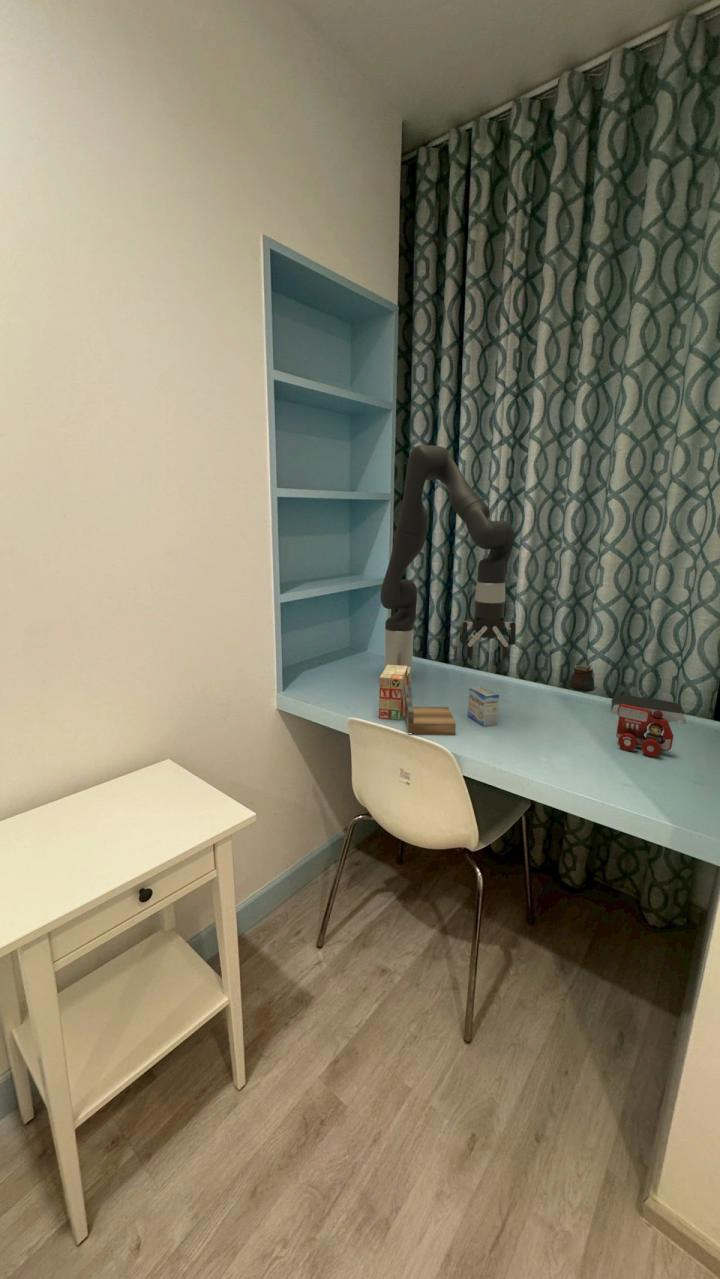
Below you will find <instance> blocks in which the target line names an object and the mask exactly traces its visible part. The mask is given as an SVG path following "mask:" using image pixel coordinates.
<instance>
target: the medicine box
mask: <svg viewBox="0 0 720 1279" xmlns="http://www.w3.org/2000/svg"><path fill="white" fill-rule="evenodd" d="M499 701H500V694H498V693H496V692H494V691H493V690H490V689H487V688H486V687H484V686H482V685H481V686H472V687H469V689H468V701H467V703H468V704H467V712H466V714H467V717H468V718H469V719H471V720H473V721H474V722H476V723H477V724H479V725H481V726H482V727H489V726H495V725H497V724H498V718H499V716H498V713H499V703H500V702H499Z"/></svg>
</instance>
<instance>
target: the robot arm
mask: <svg viewBox="0 0 720 1279" xmlns="http://www.w3.org/2000/svg"><path fill="white" fill-rule="evenodd" d="M436 480H437V481H439V482H441V483H442V484H443V485H444V486H445V487H446V488H447V490H448V491H449V492H448V493H449V501H450V504H451V507H452V509H453V510H454V512H455V513H456V514H457V516H458V517H459V518H460V519H461V520H462V521H463V522H464V523H465V526H466V528H467V531H468V533H469V536H470V538H471V540H472V541H473V543H474V544H475V545H476V546H477V547H479V548H480V549H483V550H489V553H488V555H487V556H486V557H485V558H482V559H481V560H479V562H478V563H477V564H478V565H477V576H476V577H477V579H476V581H477V582H476V585H475V586H476V587H475V592H474V594H475V595H474V614H473V620H472V621H467V620H464V619H463V620H462V621H461V624H460V632H459V633H460V634H459V639H458V640H459V642H460V644H462V645H464V646H465V656H466V658H467V659H468V661H472V660H473V654H474V653H473V652H474V647H473V645H474V643H476V642H477V641H478V640H480V638H481V639H487V638H488V639H489V638H490V639H496V638H497V639H498V640H499V642H500V643H501V645H500V650H499V652H500V653H499V659H500V661H505V659H507V658H508V650H509V649H508V648H509V646H511V645H513V646H514V645H516V633H517V632H516V622H514V621H513V620H509V621H504V618H505V616H504V615H505V604H506V602H505V601H506V583H505V582H506V573H507V572H506V570H507V565H508V563H509V560H510V557H511V553H512V550H513V548H514V544H515V537H516V536H515V529H514V528H513V525H512V524H511V523H510V522H508V521H507V520H506V521H505V520H490V519H489V518H490V516H491V515H490V514H491V512H490V508H489V506H488V505H487V504H486V502H484V500H482V498H481V497H480V496H479V495H478V494H477V493H476V492H475V490H474V489H473V488H472V487H471V486H470V485H469V483H468V482H467V480H466V478H465V477H464V475H463V473H462V472H461V470H460V468H459V467H458V465H457V463H456V462H455V460H454V458H453V457H452V455H451V454H450V452H449V451H448V449H446V448H445V447H443V446H440V445H421V444H420V445H416V446H415V447H413V449H412V450H411V451H410V453H409V457H408V460H407V465H406V474H405V479H404V490H403V496H402V501H401V502H402V503H401V507H400V513H399V517H398V521H397V525H396V529H395V534H394V540H393V545H392V550H391V554H390V557H389V562H388V566H387V568H386V571H385V575H384V578H383V581H382V584H381V585H382V586H381V588H380V589H381V590H380V603H381V605H382V607H383V608H384V609H387V610H397V609H398V611H397V612H396V613H395V614H394V615H392V616H390V617H389V618H387V619H386V620H385V625H384V626H385V627H384V669H383V671H384V670H385V668H386V666H387V665H401V666H408V667H411V680H412V676H413V653H414V652H413V650H414V647H413V646H414V625H415V621H416V615H417V614H416V613H417V603H418V590H417V585H416V584H415V581H413V580H412V579H402V578H403V576H404V573H405V572H406V570H407V568H408V567H409V566H410V564H412V562H413V561H414V560H415V559H416V557H417V556H419V554H420V553H421V551H422V550H423V548H424V546H425V541H426V540H427V534H428V530H429V521H428V516H427V513H426V511H425V507H424V503H423V493H424V487H425V485H426V484H425V483H426V481H436ZM471 627H472V628H473V629H474V630H473V632H472V633H471V634H470V636H469V637H468V639H467V635H468V634H467V633H468V630H470V628H471ZM505 627H506V630H508V639H506V638H505V637H504V634H502V633H501V632H502V631H503V629H504V628H505Z"/></svg>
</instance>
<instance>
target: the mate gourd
mask: <svg viewBox="0 0 720 1279" xmlns="http://www.w3.org/2000/svg"><path fill="white" fill-rule="evenodd" d="M592 666H593V665H592V664H591V665H589V666H587V665H575V666H574V668H573V673H572V675H571V676H570V678H569V685H570V687H571V688H572V689H574V690H577V691H581V692H583V691H584V692H588V691H591V690H593V689H594V687H595V679H594V676H593V672H594V669H593V667H592Z"/></svg>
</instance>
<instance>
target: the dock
mask: <svg viewBox="0 0 720 1279" xmlns="http://www.w3.org/2000/svg"><path fill="white" fill-rule="evenodd" d="M404 720H405V725H406V730H407V734H408V733H412V734H411V735H415V734H416V735H415V736H417V735H418V736H419V735H423V736H424V735H427V736H428V735H430V736H431V735H433V736H435V735H436V736H441V735H442V736H455V735H456V724H457V723H456V722H455V719H454V717H453V714H452V712H451V710H450V708H449V707H448V706H447V707H446V706H441V707H440V706H413V705H412V700H411V697H408V696H405V712H404Z"/></svg>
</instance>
